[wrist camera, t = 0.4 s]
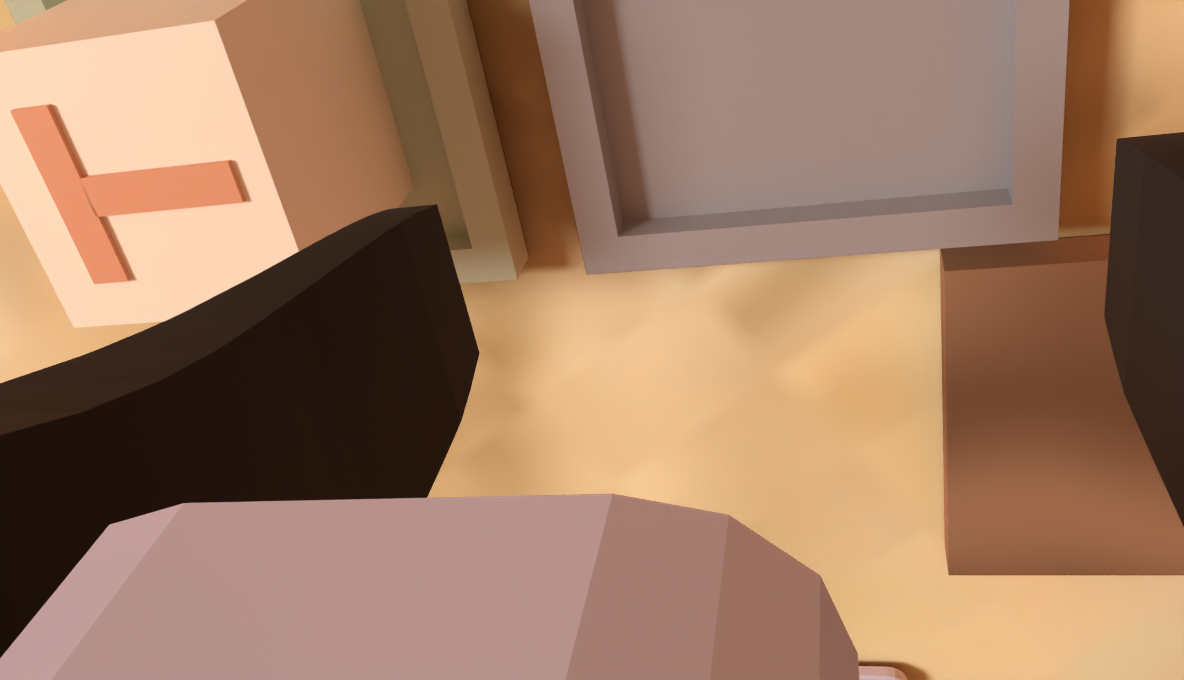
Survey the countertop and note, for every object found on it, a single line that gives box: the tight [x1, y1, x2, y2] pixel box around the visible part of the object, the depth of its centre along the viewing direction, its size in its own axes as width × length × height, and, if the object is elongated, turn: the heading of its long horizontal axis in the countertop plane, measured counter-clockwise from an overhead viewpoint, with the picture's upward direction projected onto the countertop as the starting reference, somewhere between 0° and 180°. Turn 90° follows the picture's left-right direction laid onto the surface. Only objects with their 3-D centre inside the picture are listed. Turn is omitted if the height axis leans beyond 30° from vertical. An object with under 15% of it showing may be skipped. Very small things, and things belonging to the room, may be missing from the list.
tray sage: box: [5, 0, 528, 284], centre depth 22 cm, size 9×9×1 cm
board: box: [940, 234, 1184, 575], centre depth 22 cm, size 8×8×1 cm
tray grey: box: [529, 0, 1070, 275], centre depth 19 cm, size 9×9×1 cm
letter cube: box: [0, 0, 414, 328], centre depth 20 cm, size 5×5×5 cm
